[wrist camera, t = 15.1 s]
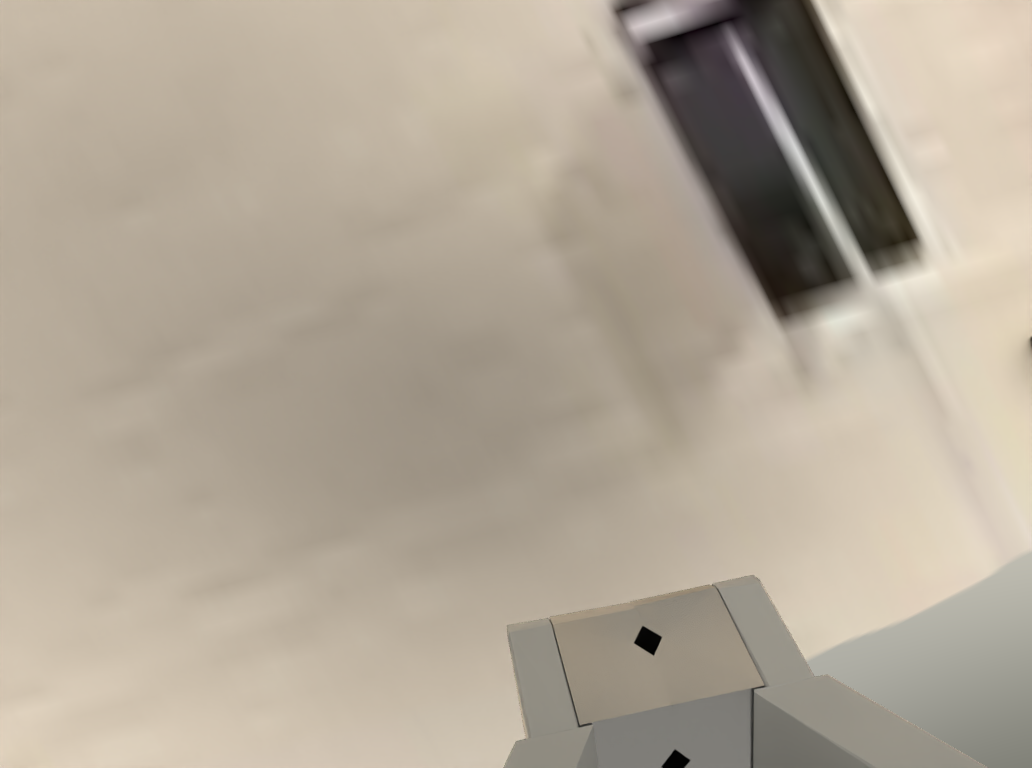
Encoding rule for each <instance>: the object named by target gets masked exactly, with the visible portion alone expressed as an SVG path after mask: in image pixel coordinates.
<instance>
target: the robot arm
mask: <svg viewBox="0 0 1032 768" xmlns="http://www.w3.org/2000/svg"><path fill="white" fill-rule="evenodd" d="M507 636H508V642H509V647H510V653H511V659H512V664H513V670H514V676H515V681H516V687H517V693H518V698H519V704H520V710H521V715H522V721H523V727H524V732H525V738H526V739H523V740H519V741H516V742H515V744H514V746H513V748H512V751H511V753H510V755H509V757H508V759H507V761H506V763H505V765H504V767H503V768H988V767H986V766H984V765H982V764H981V763H979V762H978V761H976V760H974V759H972V758H971V757H969V756H967V755H965V754H964V753H962V752H960V751H959V750H957V749H955V748H953V747H952V746H950V745H948V744H947V743H945V742H943V741H941V740H939V739H938V738H936V737H934V736H933V735H931V734H929V733H928V732H926V731H924V730H922V729H921V728H919V727H917V726H916V725H914V724H912V723H910V722H909V721H907V720H905V719H903V718H902V717H900V716H898V715H897V714H895V713H893V712H891V711H889V710H888V709H886V708H884V707H883V706H881V705H879V704H878V703H876V702H874V701H872V700H871V699H869V698H867V697H866V696H864V695H862V694H860V693H859V692H857V691H855V690H853V689H852V688H850V687H848V686H846V685H845V684H843V683H841V682H840V681H838V680H836V679H834V678H833V677H831V676H829V675H821V676H816V677H815V676H814V674H813V673H812V671H811V669H810V667H809V666H808V664H807V662H806V660H805V659H804V657H803V655H802V653H801V652H800V650H799V648H798V646H797V644H796V643H795V641H794V639H793V637H792V636H791V634H790V632H789V630H788V629H787V627H786V625H785V623H784V622H783V620H782V618H781V616H780V615H779V613H778V611H777V609H776V607H775V606H774V604H773V602H772V600H771V599H770V597H769V595H768V593H767V592H766V590H765V588H764V586H763V585H762V583H761V581H760V580H759V579H758V578H757V577H755V576H754V575H750V576H745V577H741V578H736V579H732V580H727V581H722V582H718V583H713V584H712V586H711V585H704V586H700V587H695V588H691V589H686V590H681V591H677V592H672V593H668V594H663V595H658V596H654V597H649V598H644V599H640V600H635V601H631V602H629V603H623V604H618V605H612V606H606V607H601V608H595V609H590V610H584V611H579V612H573V613H568V614H562V615H557V616H551V617H550V620H549V619H548V618H546V619H540V620H534V621H529V622H523V623H517V624H512V625H507Z"/></svg>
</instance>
